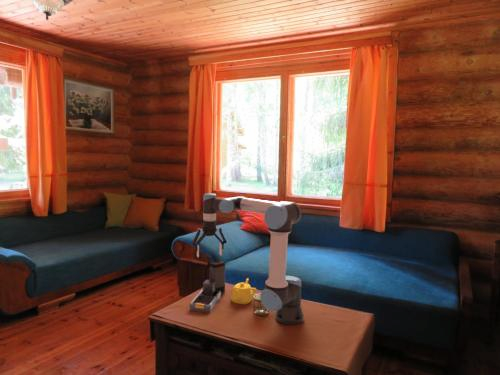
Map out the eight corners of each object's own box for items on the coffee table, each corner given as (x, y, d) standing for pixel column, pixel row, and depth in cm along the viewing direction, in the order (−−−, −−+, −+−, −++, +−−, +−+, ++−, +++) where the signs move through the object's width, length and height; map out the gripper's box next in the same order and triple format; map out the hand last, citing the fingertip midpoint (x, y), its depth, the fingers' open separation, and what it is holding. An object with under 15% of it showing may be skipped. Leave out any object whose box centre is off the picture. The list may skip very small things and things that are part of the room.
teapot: (250, 309, 209) (251, 291, 208) (225, 305, 213) (225, 287, 212) (261, 295, 230) (261, 278, 228) (238, 292, 234) (238, 275, 233)
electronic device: (220, 290, 237) (220, 260, 235) (225, 292, 233) (226, 262, 231) (208, 293, 231) (208, 262, 229) (213, 296, 227) (214, 265, 225)
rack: (220, 297, 225) (220, 280, 224) (209, 313, 203) (209, 294, 202) (202, 295, 228) (202, 278, 226) (189, 311, 206) (189, 292, 204)
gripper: (228, 217, 220) (228, 252, 222) (187, 219, 212) (187, 255, 214) (232, 220, 213) (231, 255, 215) (189, 222, 205) (189, 259, 207)
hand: (209, 255), depth 214 cm, fingers open, 13 cm apart
